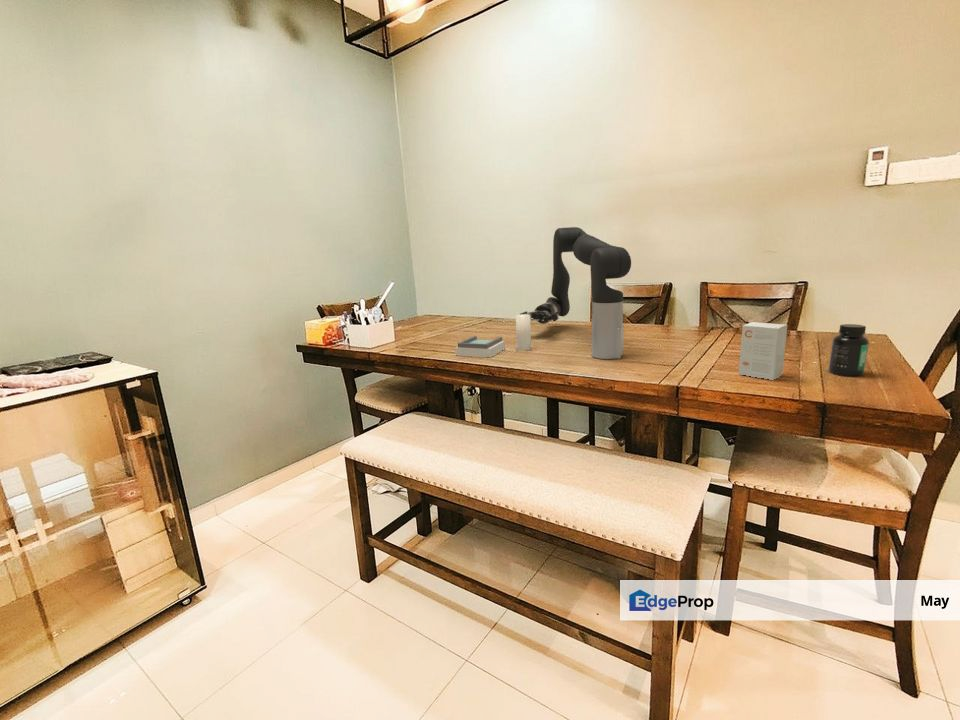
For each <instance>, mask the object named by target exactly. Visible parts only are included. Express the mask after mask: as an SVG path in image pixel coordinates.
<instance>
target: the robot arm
mask: <svg viewBox="0 0 960 720" xmlns="http://www.w3.org/2000/svg"><path fill="white" fill-rule="evenodd" d="M552 243H553V245H552V246H553V247H552V248H553V249H552V252H553V253H552V264H553V265H552V267H553V268H552V269H553V270H552V271H553V273H552V283H551V289H550V290H551V291H550V293H551V295H552V296H551V297H548V298H547V299H546V301H545V302H543V303H541V304H539V305H538V306H537V307H536V308H535V309H534V310H533V311H523V312H521V313H520V314H529V315H530V322H534V321H536V322H537V323H539V324H541V325H543V324H548V323H550V322H551V321H552V322H557V321H558V320H559V317H565V316H567V315H569V312H570V309H571V307H570V300H569V299H570V298H569V288H570V281H571V278H570V273H569V271H568V269H567V267H566V266H565V264H564V262H563V259H562V258H563V257H562V255H563V253H573V255H574V257H575V258H576V259H577V260H578V261H579V262H580V263H582V264H584V265H587V266H590V289H591V350H590V351H591V357H592V358H595V359H599V360H600V359H601V360H602V359H603V360H612V359H614V360H615V359H621V358H622V356H623V355H624V333H625V331H624V330H625V329H624V328H625V327H624V324H623V323H624V321H623V317H624V293H623V291H621V290H618V289H614V288H612V287H610V286H608V284H607V280H612V279H613V280H615V279H620V278H623V277H625V276H627V275H628V274H629V272H630V270H631V269H632V257H631V255H630V253H629V251H628V250H627V249H626V248H624V247H622V246H616V245H612V244H610V243H607V242H605V241H603V240H601V239H599V238H597V237H596V236H593V235H590V234H587V233H586V231H584V229H582V228H581V227H576V226H569V227H568V226H567V227H559V228H556V230H554V234H553V242H552Z"/></svg>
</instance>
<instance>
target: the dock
mask: <svg viewBox="0 0 960 720" xmlns="http://www.w3.org/2000/svg"><path fill="white" fill-rule="evenodd" d="M454 349H455V356H456V355H457V356H456V357H469V356H472V358H473V357H474V358H486V357H490V358H489V359H491V358H492V356H493V357H495V356H496V355H498V354H500V353H502V352H503V351H505V350H506V341H505V340H503V337H502V336H498V337H496V338H495V339H493V340H490V339H478V336H477V335H474V336H470V337H469V338H466V339H464V340H463V341H460V342H457V346H455V348H454ZM504 349H505V350H504ZM502 350H503V351H502ZM499 352H500V353H499ZM497 353H498V354H497Z"/></svg>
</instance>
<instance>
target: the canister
mask: <svg viewBox="0 0 960 720" xmlns="http://www.w3.org/2000/svg"><path fill="white" fill-rule="evenodd" d="M531 324H532V323H531V321H530V315H529V314H521V313H519V314H515V331H516V332H515V333H516V338H515V339H516V350H517V351H519V350H527V351H531V350H532V336H531V335H532V331H531V330H532V329H531ZM530 349H531V350H530Z"/></svg>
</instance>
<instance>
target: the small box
mask: <svg viewBox="0 0 960 720" xmlns="http://www.w3.org/2000/svg"><path fill="white" fill-rule="evenodd" d="M787 333H788V324H782V323H770V322H769V323H767V322H754V321H751V322H749V323H745V324H743V325H742V328H741V339H740V340H741V341H740V352H739V361H738V363H739V365H738V375H739V374H740V375H739V376H742V375H746V376H745V377H749V376H751V377H750V378H755V377H757V378H756V379H761V378H764V379H763V380H767V379H769V380H768V381H775V380H777V379H778V378H780V377H781V376H783V372H784V365H785V364H784V363H785V356H786V355H785V354H786V353H785V352H786V344H787V335H788V334H787ZM776 378H777V379H776ZM774 379H775V380H774Z"/></svg>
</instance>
